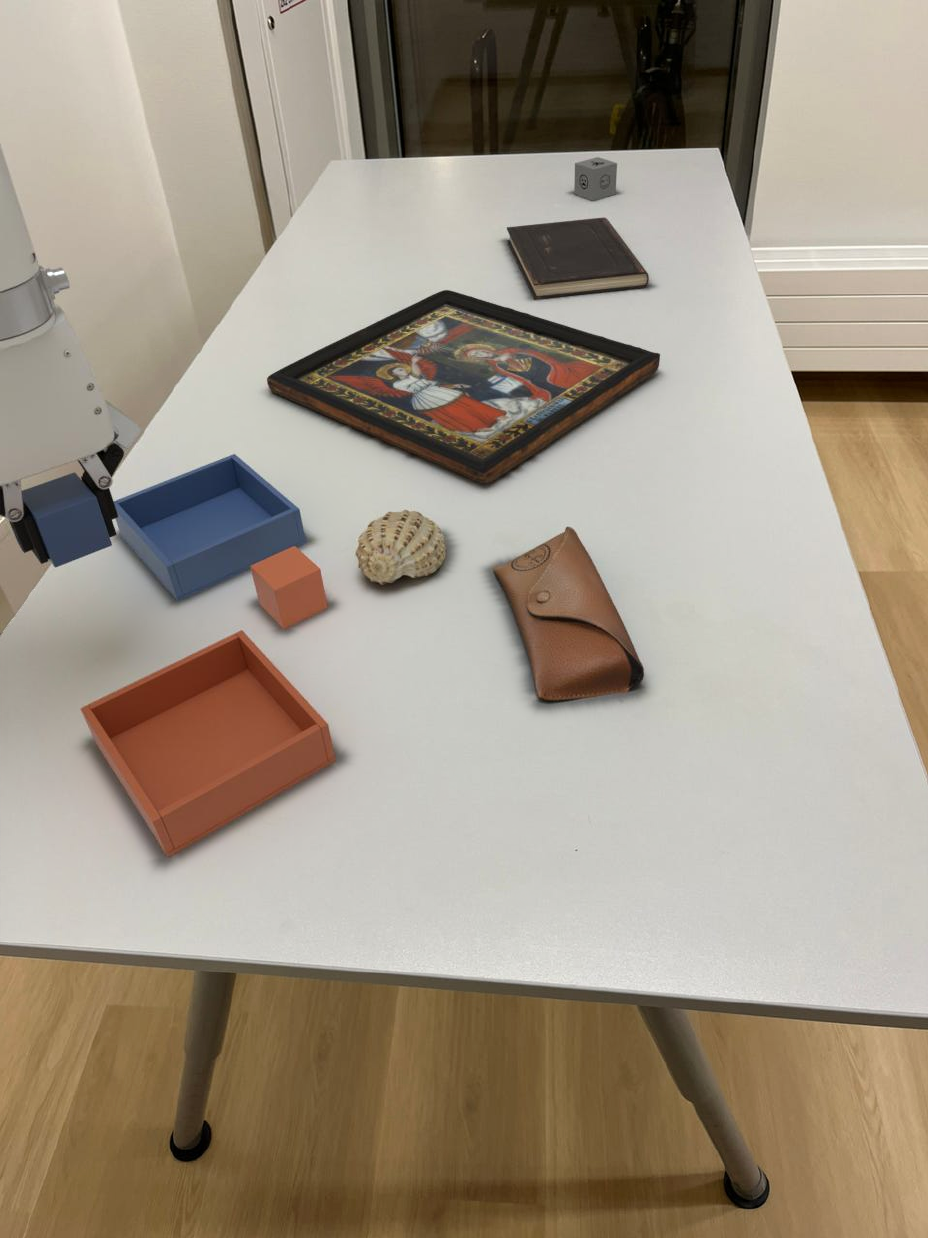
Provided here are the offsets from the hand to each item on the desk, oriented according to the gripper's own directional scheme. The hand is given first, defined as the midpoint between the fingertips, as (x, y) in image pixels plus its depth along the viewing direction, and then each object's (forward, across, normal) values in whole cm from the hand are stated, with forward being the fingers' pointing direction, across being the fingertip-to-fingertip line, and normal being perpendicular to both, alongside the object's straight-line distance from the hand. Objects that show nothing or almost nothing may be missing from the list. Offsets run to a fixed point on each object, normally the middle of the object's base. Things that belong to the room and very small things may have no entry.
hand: (72, 539), depth 72 cm
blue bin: (+12, -14, -10) cm, 20 cm away
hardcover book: (+11, -86, -38) cm, 94 cm away
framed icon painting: (+11, -51, -19) cm, 55 cm away
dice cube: (+10, -110, -59) cm, 125 cm away
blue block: (0, 0, 0) cm, 0 cm away
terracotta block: (+12, -15, +4) cm, 19 cm away
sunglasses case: (+11, -31, +21) cm, 39 cm away
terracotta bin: (+12, -2, +15) cm, 19 cm away
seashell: (+12, -26, +5) cm, 29 cm away
